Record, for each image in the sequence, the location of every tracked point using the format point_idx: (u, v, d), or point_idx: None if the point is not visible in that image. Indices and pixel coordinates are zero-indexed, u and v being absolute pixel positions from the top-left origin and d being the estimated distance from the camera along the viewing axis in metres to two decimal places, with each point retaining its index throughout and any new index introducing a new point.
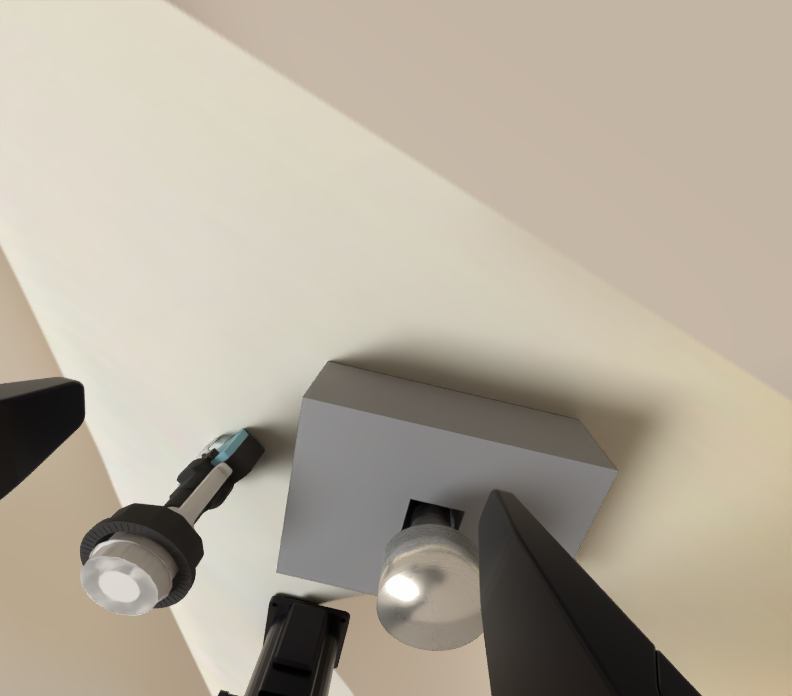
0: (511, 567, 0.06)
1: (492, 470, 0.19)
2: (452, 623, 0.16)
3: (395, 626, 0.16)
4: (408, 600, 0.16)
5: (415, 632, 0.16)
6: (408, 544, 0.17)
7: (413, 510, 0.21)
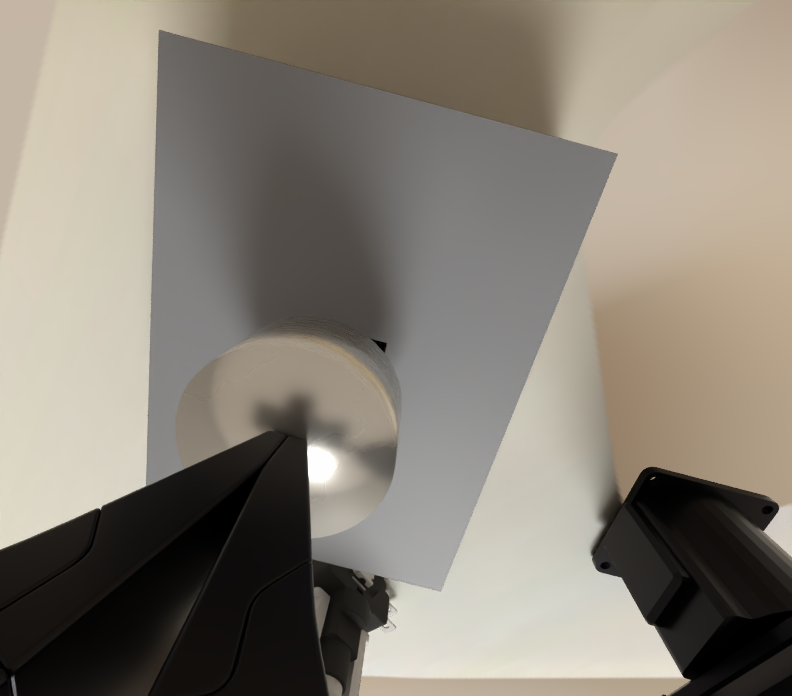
0: None
1: (204, 275, 0.11)
2: (310, 416, 0.08)
3: (334, 514, 0.08)
4: None
5: (346, 483, 0.08)
6: None
7: None
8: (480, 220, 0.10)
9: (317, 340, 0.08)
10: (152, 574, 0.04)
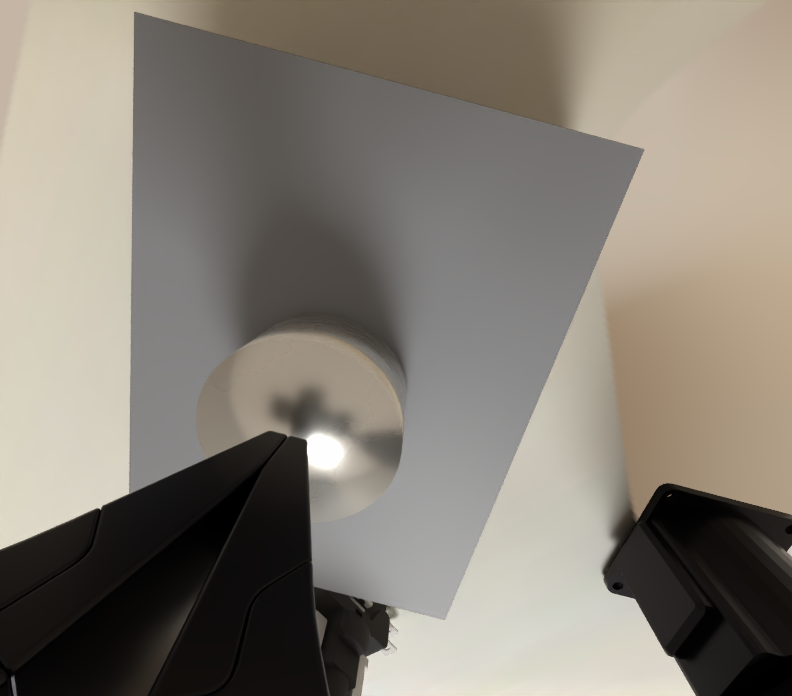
0: None
1: (188, 283, 0.10)
2: (322, 406, 0.08)
3: (344, 498, 0.09)
4: None
5: (355, 468, 0.09)
6: None
7: None
8: (490, 222, 0.09)
9: (328, 335, 0.08)
10: (152, 574, 0.04)
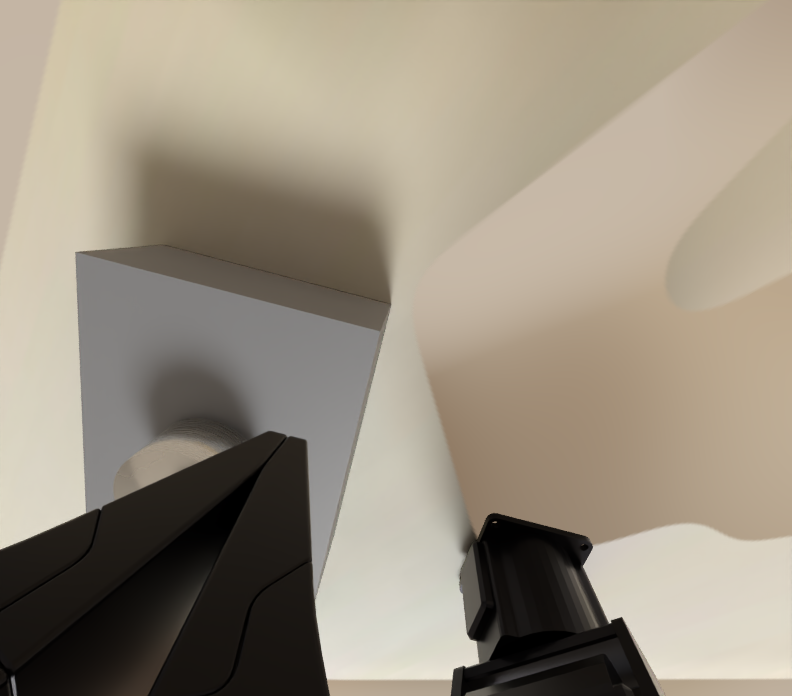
0: None
1: (117, 397, 0.16)
2: None
3: None
4: None
5: None
6: None
7: None
8: (298, 367, 0.15)
9: (190, 444, 0.14)
10: (152, 574, 0.04)
